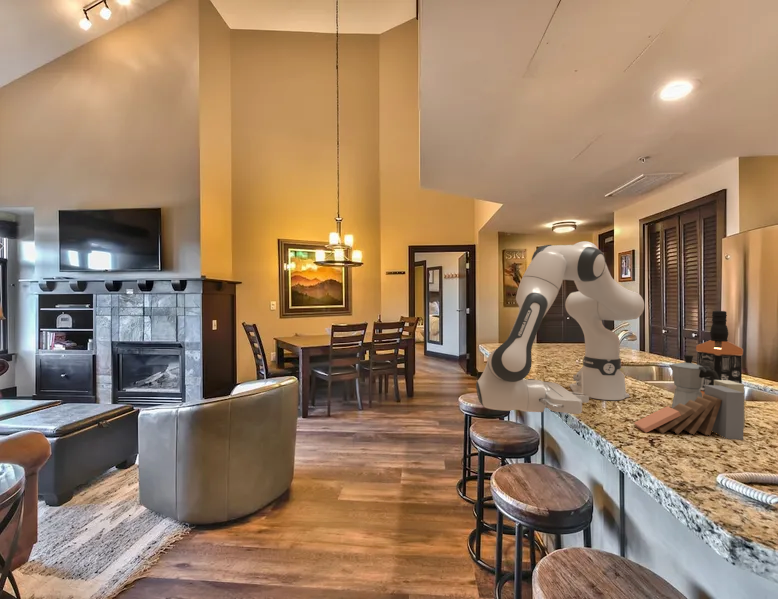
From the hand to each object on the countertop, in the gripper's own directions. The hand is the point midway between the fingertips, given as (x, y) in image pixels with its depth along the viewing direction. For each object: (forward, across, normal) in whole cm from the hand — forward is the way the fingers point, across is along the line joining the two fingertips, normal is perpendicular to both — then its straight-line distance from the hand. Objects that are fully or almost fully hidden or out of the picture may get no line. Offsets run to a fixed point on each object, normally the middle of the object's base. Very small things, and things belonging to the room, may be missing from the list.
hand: (587, 398), depth 105 cm
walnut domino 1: (+18, 0, +8) cm, 19 cm away
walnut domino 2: (+22, 0, +8) cm, 23 cm away
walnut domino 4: (+29, 0, +8) cm, 30 cm away
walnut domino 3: (+25, 0, +8) cm, 26 cm away
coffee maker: (+39, +20, +8) cm, 45 cm away
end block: (+34, 0, +8) cm, 35 cm away
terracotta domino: (+14, 0, +8) cm, 16 cm away
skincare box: (+42, +9, +8) cm, 44 cm away
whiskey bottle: (+54, +31, +8) cm, 63 cm away
